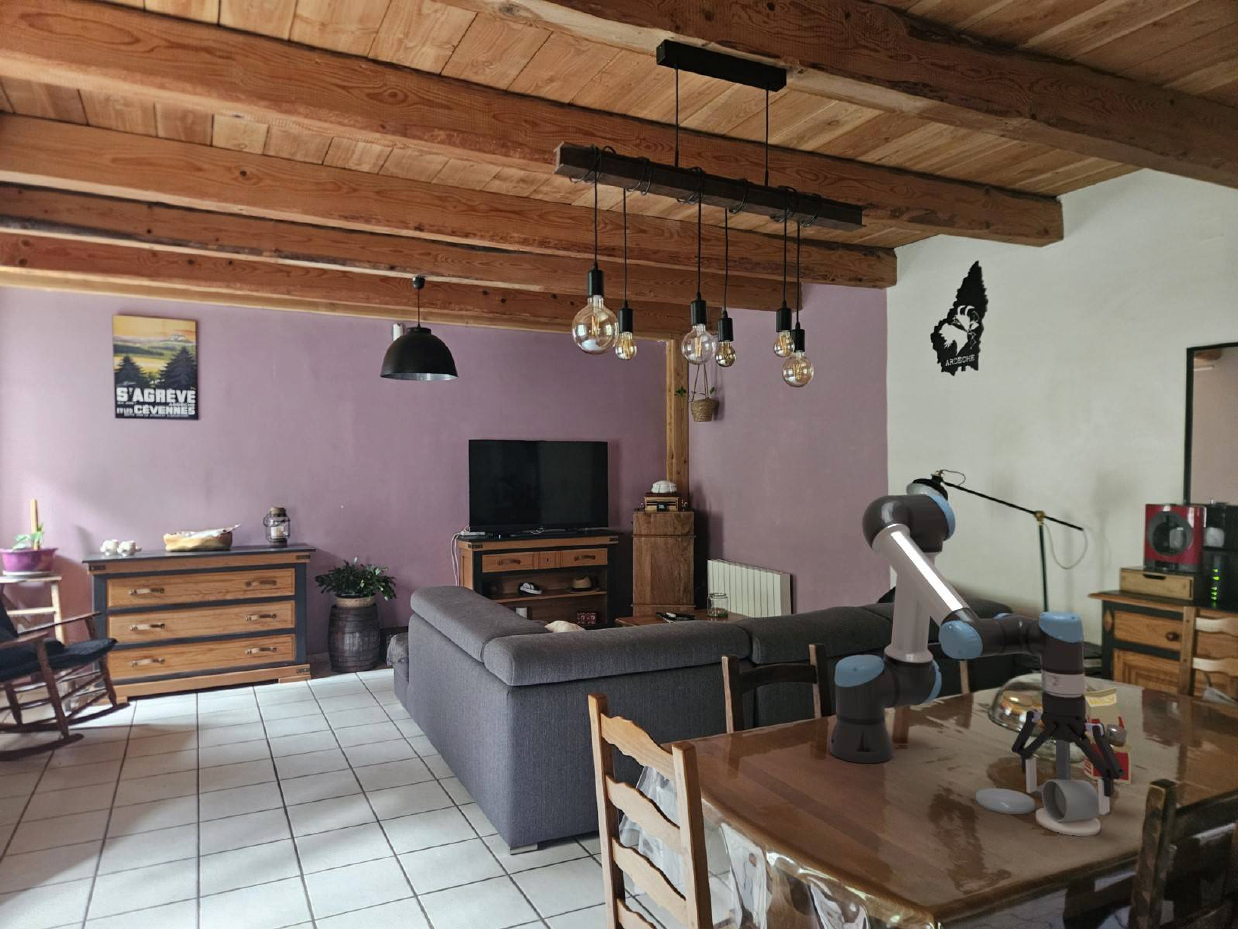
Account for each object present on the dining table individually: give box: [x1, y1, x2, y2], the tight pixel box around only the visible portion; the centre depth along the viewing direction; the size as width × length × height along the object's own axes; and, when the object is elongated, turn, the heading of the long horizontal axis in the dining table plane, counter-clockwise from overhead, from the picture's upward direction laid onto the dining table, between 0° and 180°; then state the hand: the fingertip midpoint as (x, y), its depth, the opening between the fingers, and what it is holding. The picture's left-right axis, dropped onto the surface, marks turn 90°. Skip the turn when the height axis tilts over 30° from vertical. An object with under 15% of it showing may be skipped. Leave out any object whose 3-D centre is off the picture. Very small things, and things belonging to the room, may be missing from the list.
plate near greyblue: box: [975, 788, 1036, 815], centre depth 166 cm, size 11×11×1 cm
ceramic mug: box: [1041, 778, 1101, 822], centre depth 157 cm, size 11×8×8 cm
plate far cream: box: [1035, 806, 1101, 837], centre depth 156 cm, size 11×11×1 cm
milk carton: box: [1083, 686, 1132, 785], centre depth 181 cm, size 9×9×20 cm
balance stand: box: [1030, 739, 1072, 798], centre depth 169 cm, size 10×8×16 cm
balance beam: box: [1002, 690, 1131, 753], centre depth 169 cm, size 26×6×5 cm, turn 36°
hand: (1066, 801), depth 156 cm, fingers open, 13 cm apart
